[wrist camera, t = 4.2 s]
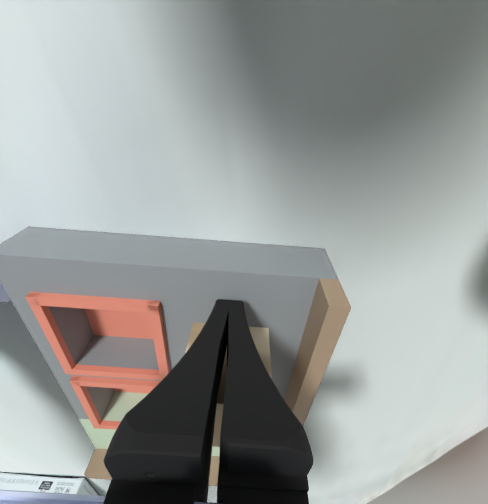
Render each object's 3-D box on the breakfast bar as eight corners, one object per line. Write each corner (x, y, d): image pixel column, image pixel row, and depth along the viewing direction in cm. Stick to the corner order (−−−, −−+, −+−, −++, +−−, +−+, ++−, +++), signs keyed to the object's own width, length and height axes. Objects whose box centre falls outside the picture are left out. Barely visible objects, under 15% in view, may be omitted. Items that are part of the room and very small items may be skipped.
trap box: (111, 420, 28) (86, 478, 24) (28, 226, 15) (-56, 278, 11) (273, 430, 29) (276, 489, 24) (324, 248, 16) (350, 307, 11)
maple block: (195, 367, 18) (179, 444, 14) (192, 322, 15) (173, 400, 11) (260, 372, 18) (262, 449, 14) (268, 328, 15) (273, 407, 11)
